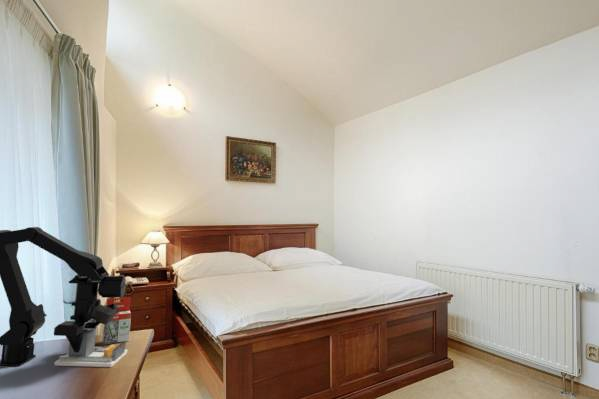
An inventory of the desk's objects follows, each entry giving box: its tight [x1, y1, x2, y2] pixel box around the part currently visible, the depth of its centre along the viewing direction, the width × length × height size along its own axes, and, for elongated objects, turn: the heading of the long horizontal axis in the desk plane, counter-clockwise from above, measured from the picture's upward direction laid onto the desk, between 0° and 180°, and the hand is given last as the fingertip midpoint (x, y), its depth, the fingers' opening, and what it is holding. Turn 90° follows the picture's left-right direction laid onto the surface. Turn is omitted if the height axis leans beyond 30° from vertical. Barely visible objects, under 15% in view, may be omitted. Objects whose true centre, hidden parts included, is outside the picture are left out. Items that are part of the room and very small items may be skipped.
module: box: [67, 328, 97, 356], centre depth 99 cm, size 5×4×7 cm
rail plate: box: [54, 341, 128, 368], centre depth 99 cm, size 16×10×4 cm, turn 94°
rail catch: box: [104, 343, 117, 357], centre depth 99 cm, size 1×4×2 cm, turn 3°
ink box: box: [102, 296, 132, 345], centre depth 113 cm, size 4×8×15 cm, turn 123°
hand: (81, 348), depth 98 cm, fingers closed on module, 4 cm apart
